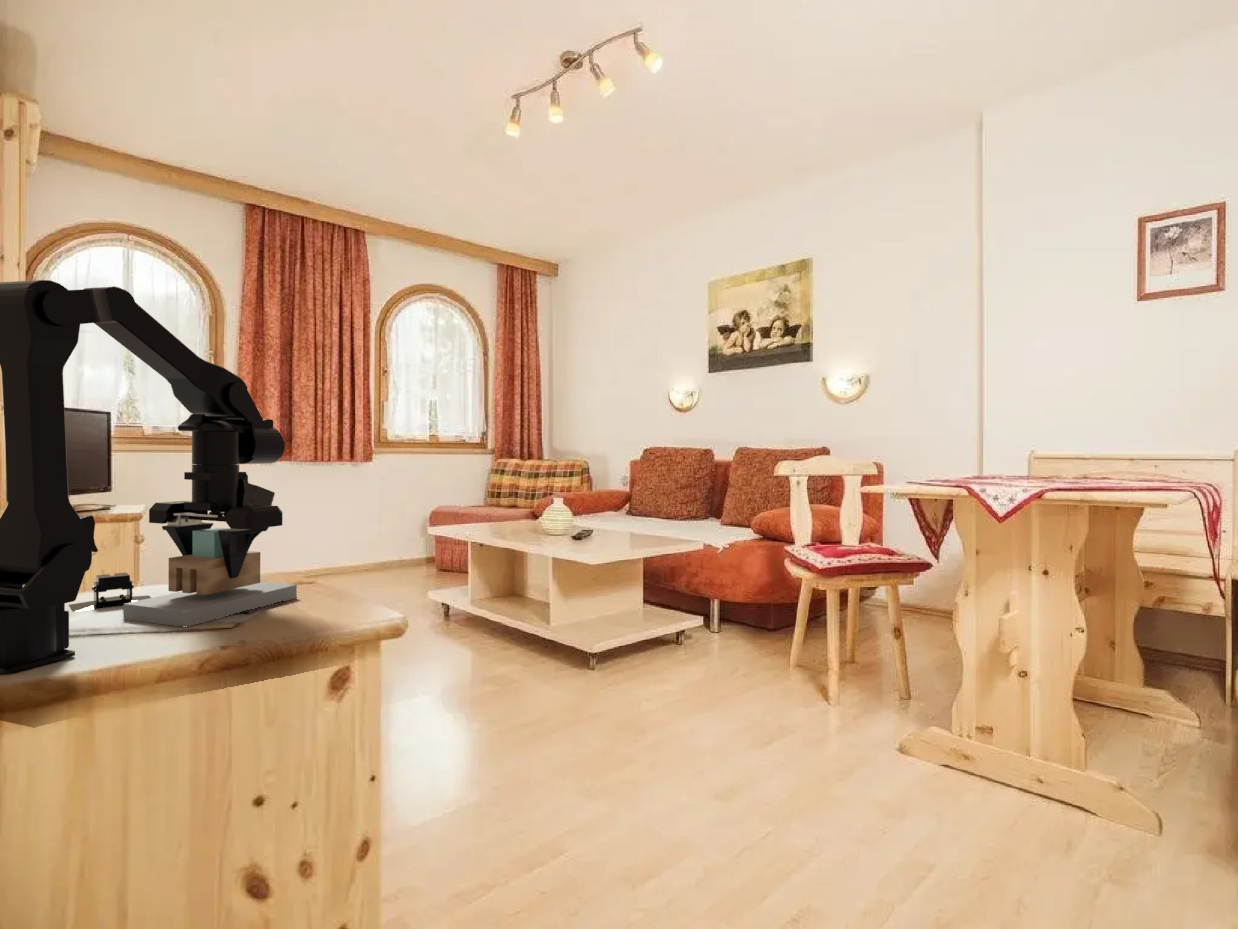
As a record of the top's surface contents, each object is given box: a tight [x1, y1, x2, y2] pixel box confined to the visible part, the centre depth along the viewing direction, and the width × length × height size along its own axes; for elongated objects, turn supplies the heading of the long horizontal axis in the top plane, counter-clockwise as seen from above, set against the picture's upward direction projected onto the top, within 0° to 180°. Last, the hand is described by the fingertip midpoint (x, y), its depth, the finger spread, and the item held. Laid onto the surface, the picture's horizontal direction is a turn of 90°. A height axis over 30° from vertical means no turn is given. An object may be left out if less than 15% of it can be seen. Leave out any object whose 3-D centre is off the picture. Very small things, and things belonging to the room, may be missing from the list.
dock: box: [122, 580, 298, 628], centre depth 96 cm, size 18×11×2 cm, turn 161°
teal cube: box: [193, 527, 229, 558], centre depth 95 cm, size 4×4×4 cm
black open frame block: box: [68, 572, 152, 613], centre depth 97 cm, size 12×7×5 cm, turn 133°
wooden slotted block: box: [168, 550, 261, 595], centre depth 95 cm, size 9×6×4 cm
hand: (215, 576), depth 95 cm, fingers closed on wooden slotted block, 6 cm apart
